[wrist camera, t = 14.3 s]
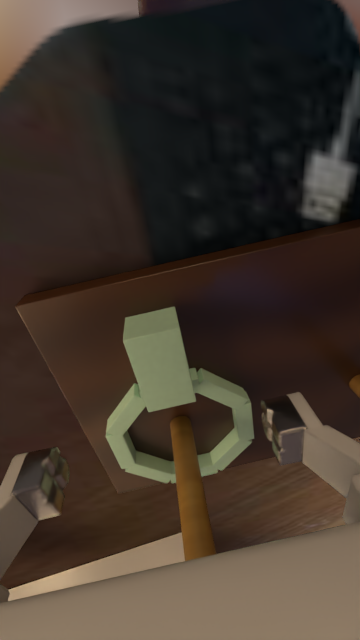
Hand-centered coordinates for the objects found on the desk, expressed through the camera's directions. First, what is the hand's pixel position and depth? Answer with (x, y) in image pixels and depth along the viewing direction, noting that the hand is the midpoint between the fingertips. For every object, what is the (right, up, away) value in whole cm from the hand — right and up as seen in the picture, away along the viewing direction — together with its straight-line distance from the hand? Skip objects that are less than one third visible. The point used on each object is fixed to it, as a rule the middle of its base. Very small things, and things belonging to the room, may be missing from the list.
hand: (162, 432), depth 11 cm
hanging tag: (0, -2, +9) cm, 9 cm away
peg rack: (+7, +1, +10) cm, 13 cm away
